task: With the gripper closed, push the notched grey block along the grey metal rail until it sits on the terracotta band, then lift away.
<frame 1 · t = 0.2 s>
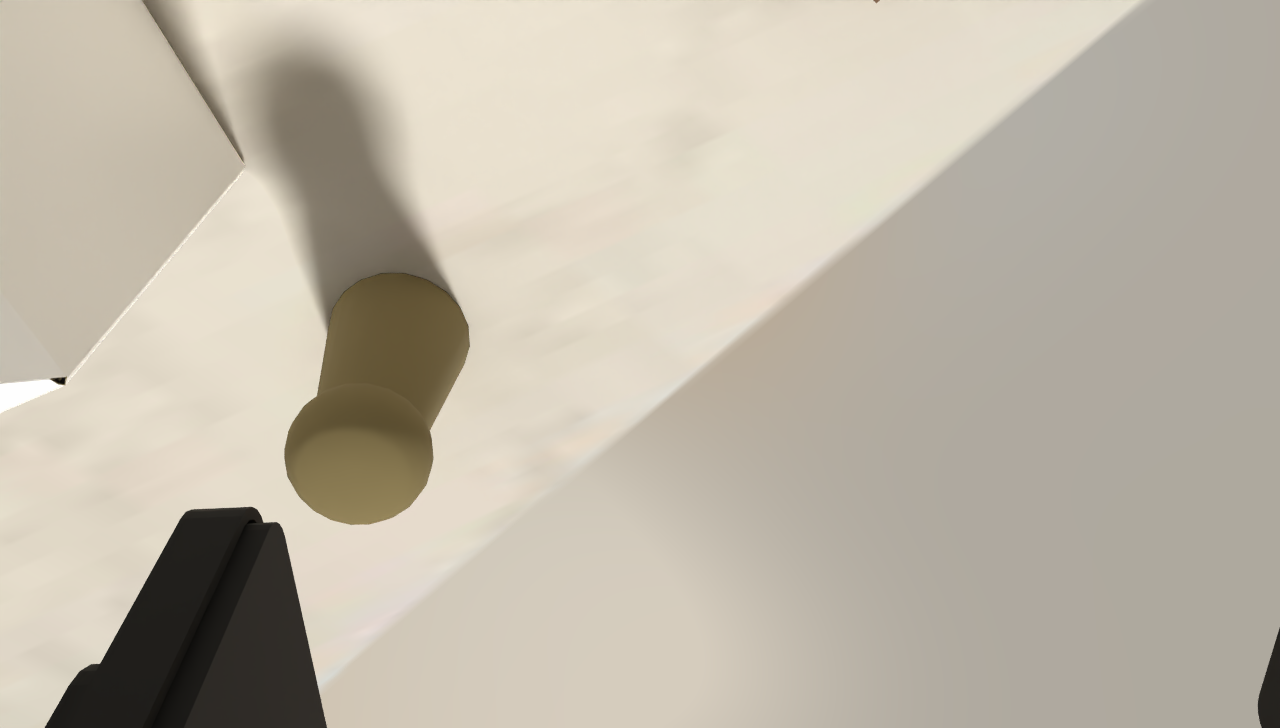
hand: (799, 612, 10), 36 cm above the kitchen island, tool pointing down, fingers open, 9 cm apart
cork: (400, 334, 49), on the kitchen island
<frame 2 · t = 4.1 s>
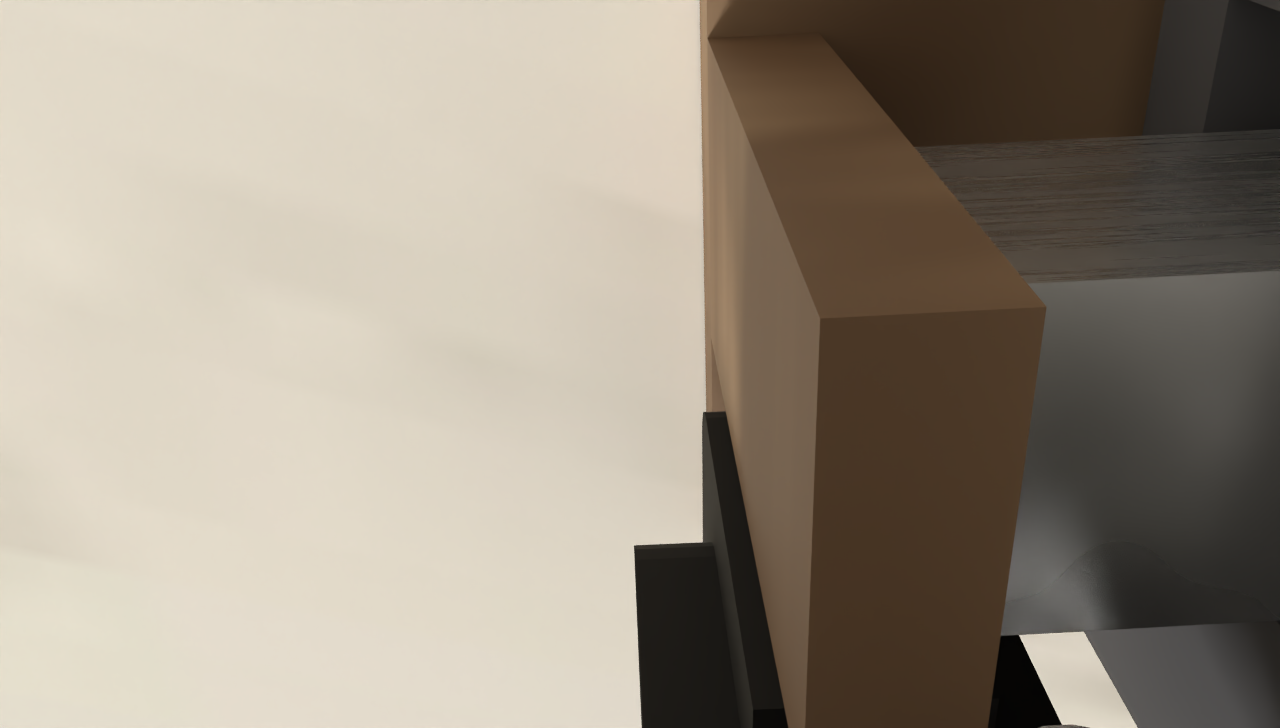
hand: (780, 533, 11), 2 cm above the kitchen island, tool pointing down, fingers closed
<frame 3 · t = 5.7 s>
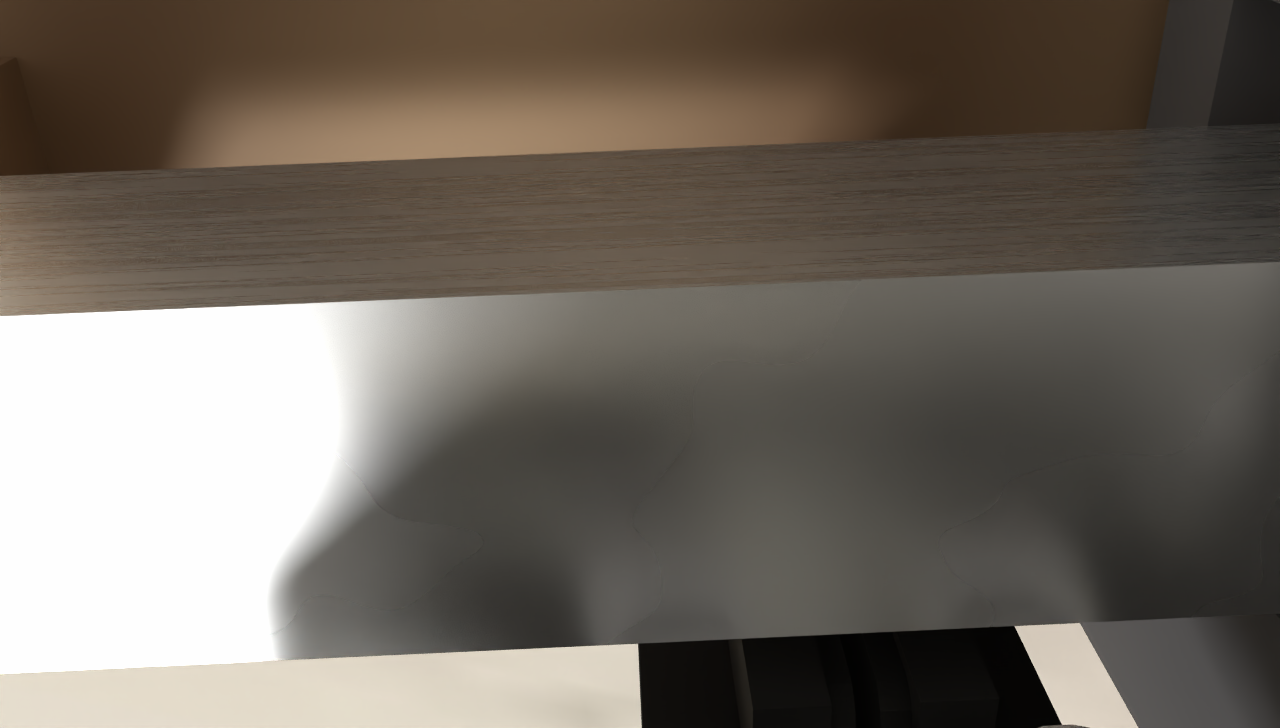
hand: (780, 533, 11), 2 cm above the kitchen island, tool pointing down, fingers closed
rail: (1035, 362, 8), point 4 cm above the kitchen island
board: (885, 156, 12), on the kitchen island
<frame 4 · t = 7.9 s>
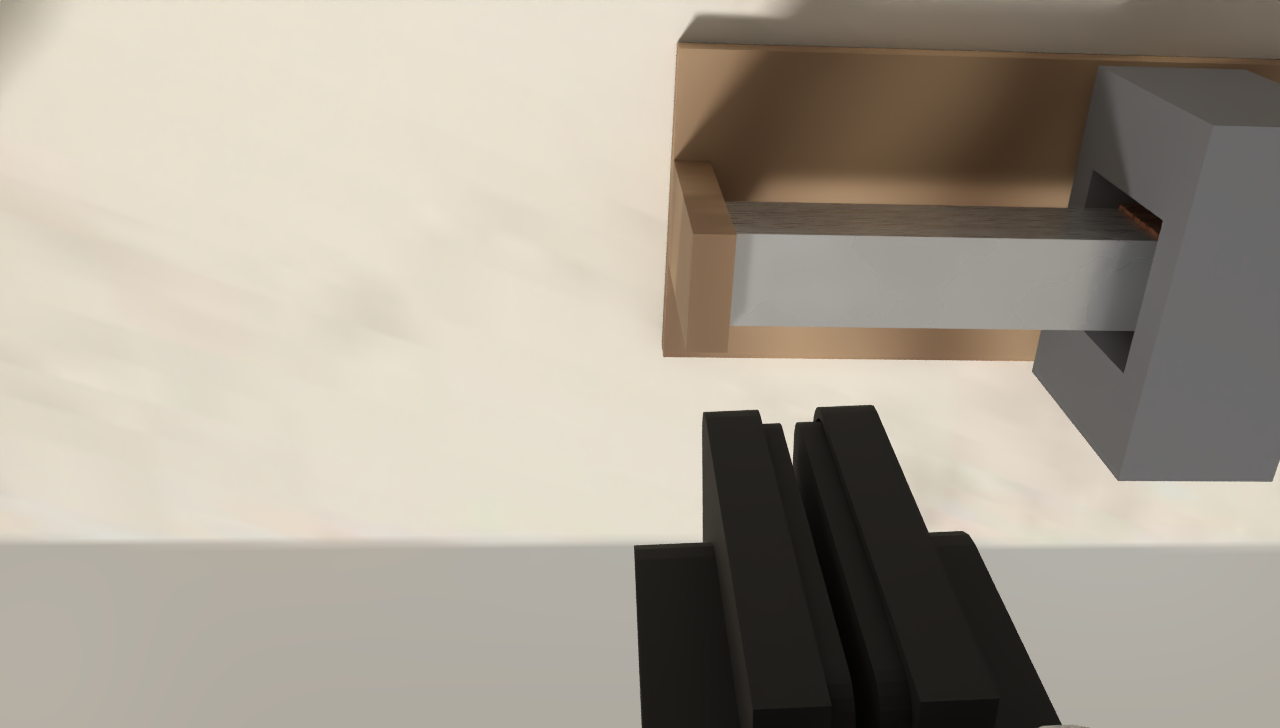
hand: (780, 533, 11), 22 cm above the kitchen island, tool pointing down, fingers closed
rail: (1033, 267, 29), point 4 cm above the kitchen island
board: (977, 209, 33), on the kitchen island
notched grey block: (1183, 269, 29), point 4 cm above the kitchen island, slide at 7.9 cm
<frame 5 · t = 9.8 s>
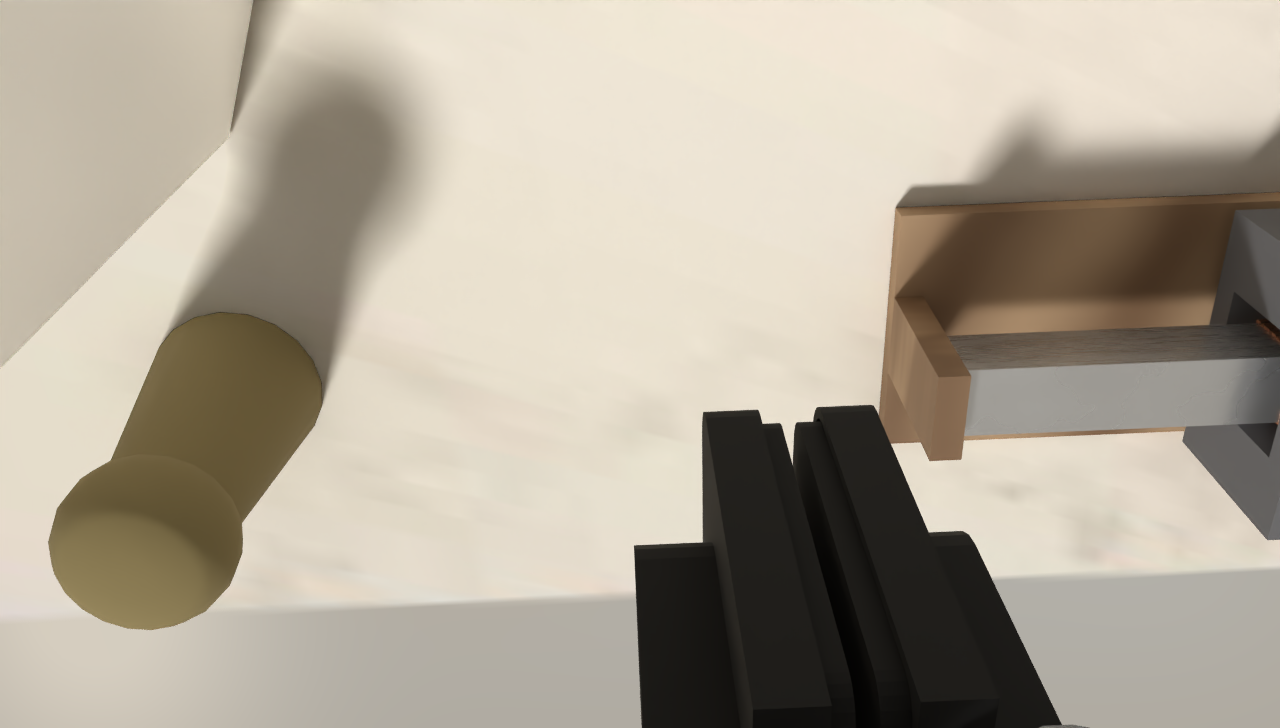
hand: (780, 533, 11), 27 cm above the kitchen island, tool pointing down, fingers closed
rail: (1191, 375, 37), point 4 cm above the kitchen island
board: (1134, 315, 41), on the kitchen island
cork: (239, 384, 41), on the kitchen island
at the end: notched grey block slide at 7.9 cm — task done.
